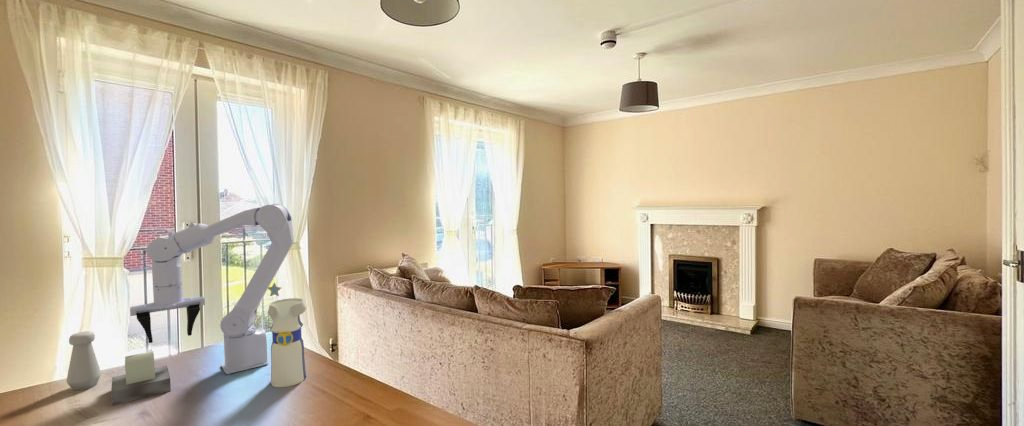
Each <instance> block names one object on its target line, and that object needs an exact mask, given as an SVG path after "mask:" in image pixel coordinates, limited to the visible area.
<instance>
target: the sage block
mask: <svg viewBox="0 0 1024 426" xmlns="http://www.w3.org/2000/svg"><path fill="white" fill-rule="evenodd" d="M155 368H156V367H155V354H154V351H147V352H141V353H137V354H132V355H127V356H125V357H124V371H125V374H126V385H127V384H132V383H136V382H141V381H145V380H149V379H154V378H155Z"/></svg>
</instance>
